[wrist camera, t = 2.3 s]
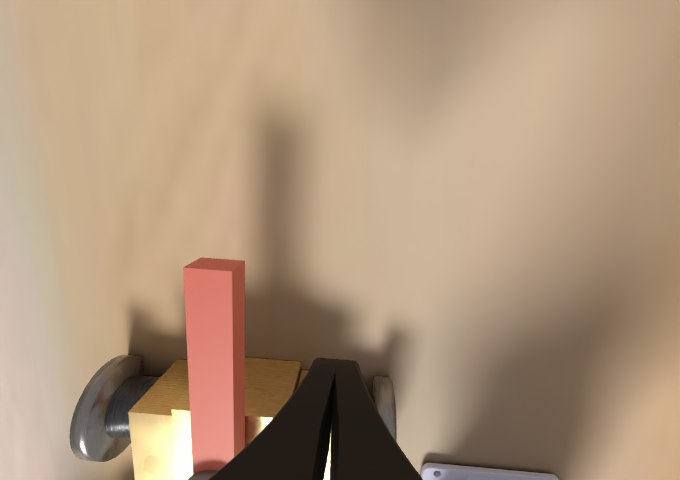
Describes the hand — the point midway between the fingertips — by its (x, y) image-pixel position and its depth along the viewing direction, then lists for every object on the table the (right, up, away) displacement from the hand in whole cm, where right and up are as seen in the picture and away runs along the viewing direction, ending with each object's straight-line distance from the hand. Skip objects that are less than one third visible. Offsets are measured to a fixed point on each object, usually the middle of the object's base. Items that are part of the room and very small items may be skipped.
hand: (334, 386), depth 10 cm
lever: (-6, -3, +5) cm, 8 cm away
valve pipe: (-6, -6, +13) cm, 15 cm away
